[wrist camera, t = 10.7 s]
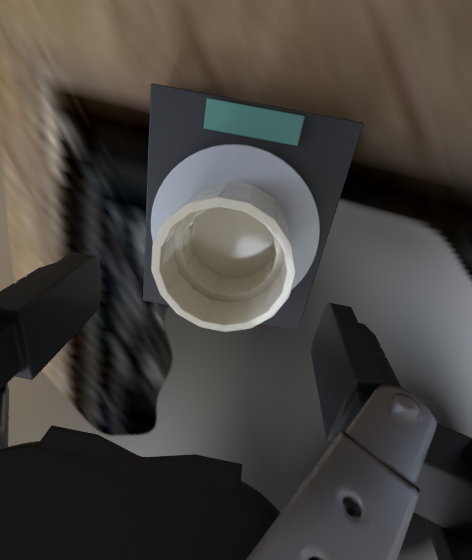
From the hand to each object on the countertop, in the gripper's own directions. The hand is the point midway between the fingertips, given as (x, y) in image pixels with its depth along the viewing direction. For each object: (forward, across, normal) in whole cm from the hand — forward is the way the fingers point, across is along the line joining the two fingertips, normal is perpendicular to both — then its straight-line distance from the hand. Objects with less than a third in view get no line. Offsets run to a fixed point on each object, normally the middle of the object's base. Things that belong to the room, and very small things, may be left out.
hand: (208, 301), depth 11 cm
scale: (+11, 0, 0) cm, 11 cm away
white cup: (+8, 0, 0) cm, 8 cm away
